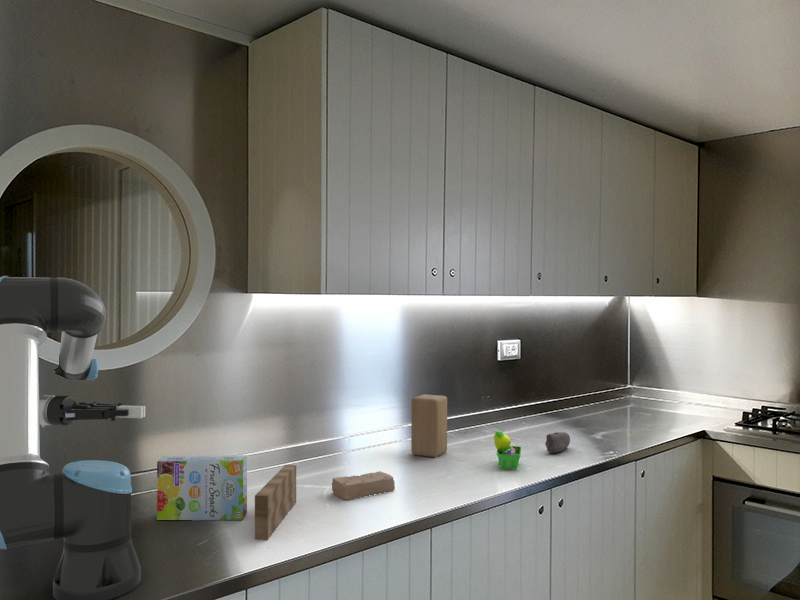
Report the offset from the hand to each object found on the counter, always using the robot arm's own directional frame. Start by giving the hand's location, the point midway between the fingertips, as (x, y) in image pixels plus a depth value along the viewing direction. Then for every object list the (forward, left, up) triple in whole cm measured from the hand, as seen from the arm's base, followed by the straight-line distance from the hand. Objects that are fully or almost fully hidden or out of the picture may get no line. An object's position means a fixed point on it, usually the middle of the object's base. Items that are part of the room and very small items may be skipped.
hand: (143, 412), depth 159 cm
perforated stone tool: (+77, -115, -26) cm, 141 cm away
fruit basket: (+56, -95, -26) cm, 114 cm away
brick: (+24, -53, -27) cm, 64 cm away
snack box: (0, -15, -26) cm, 30 cm away
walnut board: (0, -34, -26) cm, 43 cm away
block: (+69, -69, -26) cm, 101 cm away
